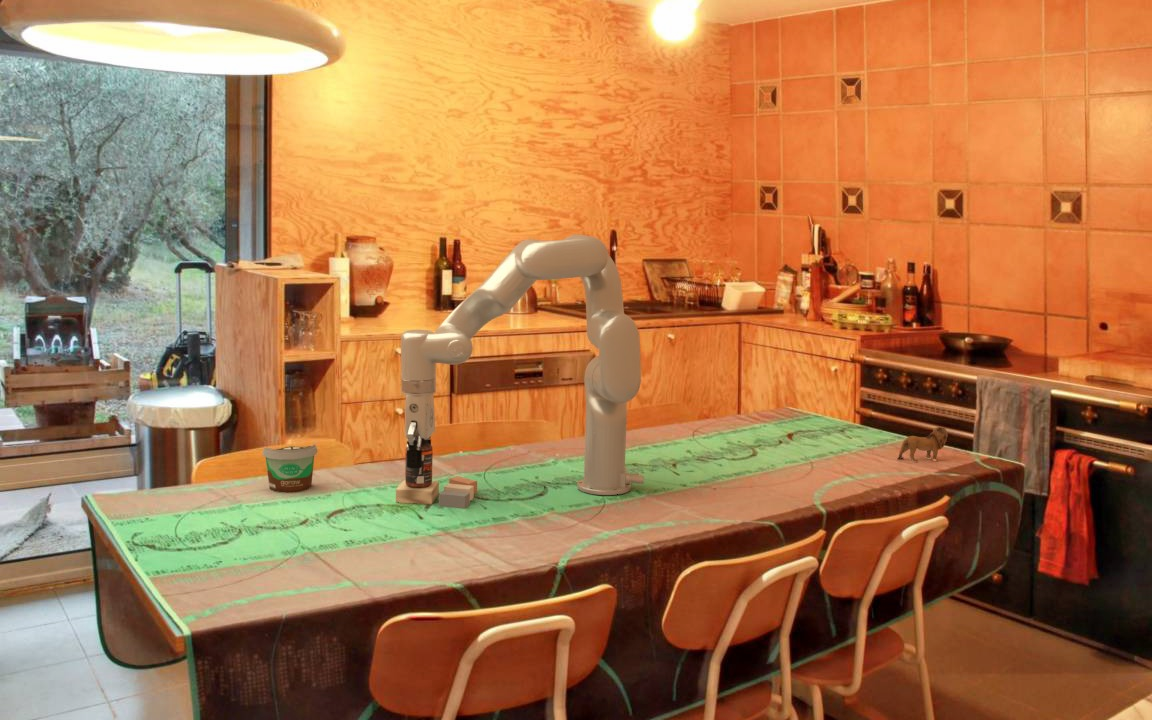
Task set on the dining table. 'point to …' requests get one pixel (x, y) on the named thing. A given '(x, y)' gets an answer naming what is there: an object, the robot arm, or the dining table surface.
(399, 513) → the dining table surface
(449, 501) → the brick slate
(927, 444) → the lion figurine
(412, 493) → the oak slab
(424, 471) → the supplement bottle
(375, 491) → the dining table surface
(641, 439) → the dining table surface
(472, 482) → the brick terracotta
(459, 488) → the brick cream
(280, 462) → the food container
